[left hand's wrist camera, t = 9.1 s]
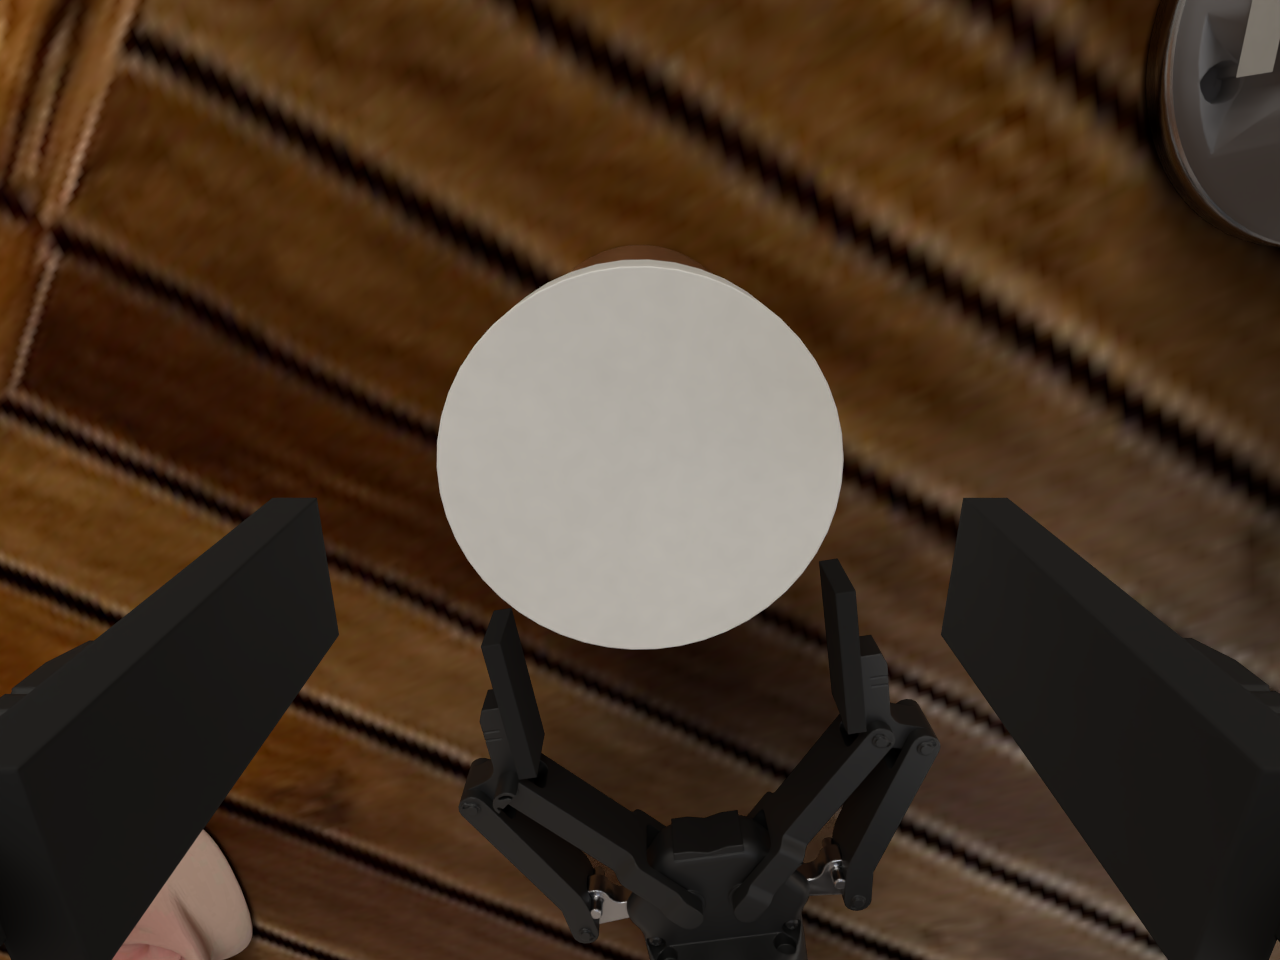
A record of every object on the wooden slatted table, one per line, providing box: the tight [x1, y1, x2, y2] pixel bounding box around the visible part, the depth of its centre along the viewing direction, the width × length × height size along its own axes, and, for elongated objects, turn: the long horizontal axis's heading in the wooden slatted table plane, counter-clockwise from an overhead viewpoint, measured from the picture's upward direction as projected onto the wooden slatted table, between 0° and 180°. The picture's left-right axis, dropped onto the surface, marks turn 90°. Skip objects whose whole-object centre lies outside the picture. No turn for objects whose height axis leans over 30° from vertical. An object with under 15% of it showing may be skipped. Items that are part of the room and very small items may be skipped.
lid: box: [437, 259, 843, 650], centre depth 19 cm, size 10×10×2 cm
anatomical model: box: [112, 829, 252, 960], centre depth 41 cm, size 13×4×12 cm
